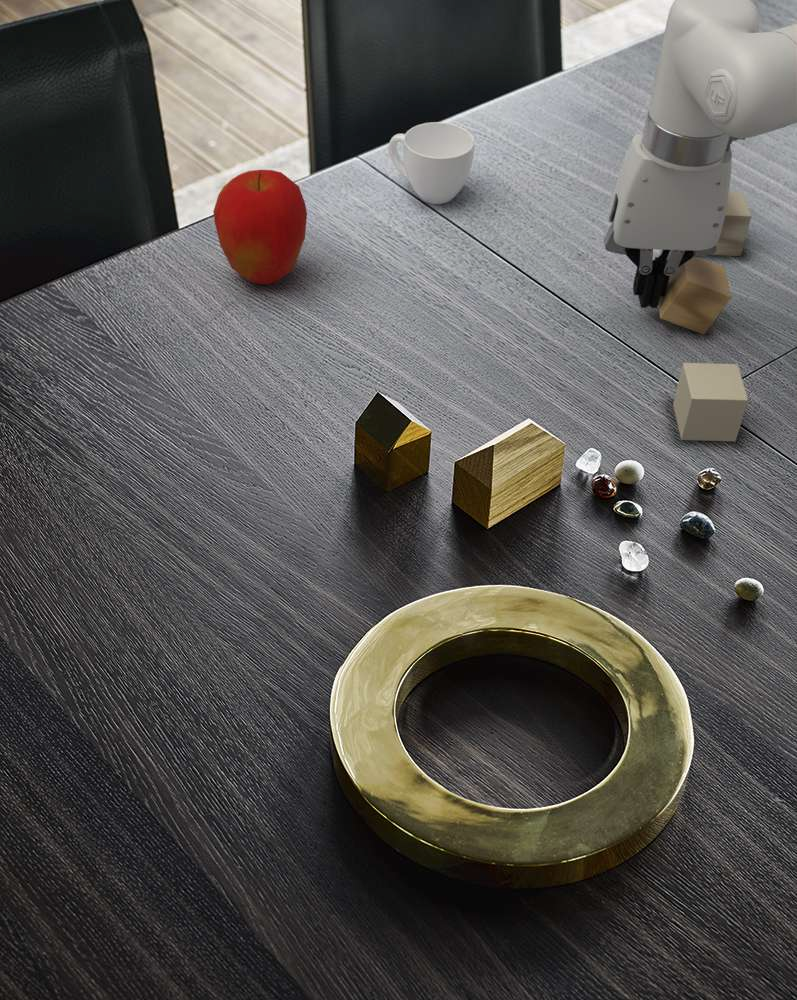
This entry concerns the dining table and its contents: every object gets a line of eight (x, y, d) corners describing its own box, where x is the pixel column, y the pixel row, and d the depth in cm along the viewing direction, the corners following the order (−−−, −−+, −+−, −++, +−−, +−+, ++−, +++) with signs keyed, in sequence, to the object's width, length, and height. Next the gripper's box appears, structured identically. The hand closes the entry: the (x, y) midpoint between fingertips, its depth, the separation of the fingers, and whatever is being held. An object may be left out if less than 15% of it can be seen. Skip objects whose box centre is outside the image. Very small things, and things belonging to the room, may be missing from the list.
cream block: (726, 405, 117) (738, 363, 113) (735, 442, 113) (748, 400, 110) (672, 404, 117) (683, 362, 113) (680, 440, 113) (691, 398, 110)
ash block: (732, 230, 138) (742, 190, 134) (740, 256, 134) (751, 216, 131) (687, 228, 138) (696, 188, 134) (694, 255, 134) (704, 214, 131)
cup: (450, 220, 137) (454, 165, 132) (371, 193, 141) (372, 139, 136) (482, 188, 142) (487, 134, 137) (405, 163, 145) (407, 109, 141)
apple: (280, 240, 133) (276, 138, 125) (325, 283, 128) (324, 179, 120) (202, 267, 130) (193, 163, 121) (246, 312, 125) (239, 207, 116)
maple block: (697, 304, 128) (724, 267, 124) (704, 335, 124) (732, 297, 121) (654, 288, 127) (680, 250, 123) (659, 318, 123) (686, 279, 120)
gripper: (760, 116, 114) (714, 279, 128) (598, 109, 114) (568, 274, 127) (778, 161, 109) (727, 326, 123) (607, 154, 109) (576, 320, 122)
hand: (646, 299), depth 125 cm, fingers closed
